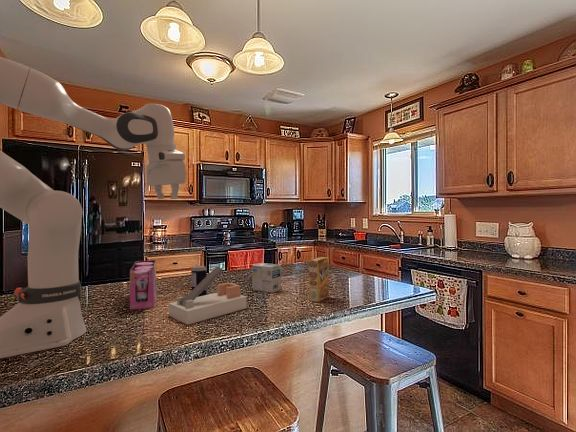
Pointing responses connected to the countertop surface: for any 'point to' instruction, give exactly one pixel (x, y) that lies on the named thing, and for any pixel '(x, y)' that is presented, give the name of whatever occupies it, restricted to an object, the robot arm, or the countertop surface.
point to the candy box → (318, 279)
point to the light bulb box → (266, 277)
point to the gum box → (143, 284)
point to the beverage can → (198, 277)
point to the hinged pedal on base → (209, 304)
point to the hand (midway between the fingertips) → (167, 198)
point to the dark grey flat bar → (201, 286)
